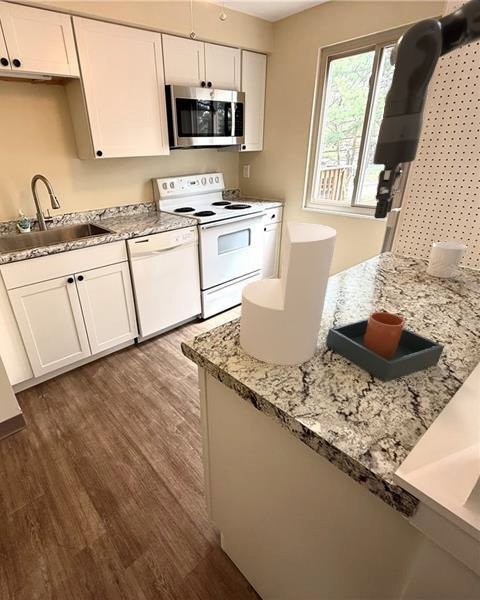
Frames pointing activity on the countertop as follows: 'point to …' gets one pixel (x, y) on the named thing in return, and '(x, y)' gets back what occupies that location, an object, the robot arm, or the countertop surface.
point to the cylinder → (289, 299)
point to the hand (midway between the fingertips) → (382, 215)
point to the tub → (407, 359)
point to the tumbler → (383, 334)
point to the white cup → (445, 259)
